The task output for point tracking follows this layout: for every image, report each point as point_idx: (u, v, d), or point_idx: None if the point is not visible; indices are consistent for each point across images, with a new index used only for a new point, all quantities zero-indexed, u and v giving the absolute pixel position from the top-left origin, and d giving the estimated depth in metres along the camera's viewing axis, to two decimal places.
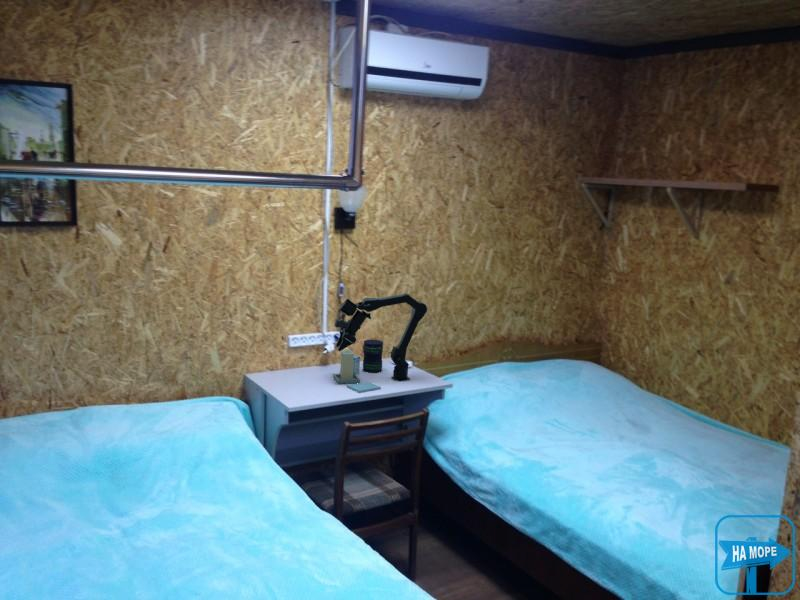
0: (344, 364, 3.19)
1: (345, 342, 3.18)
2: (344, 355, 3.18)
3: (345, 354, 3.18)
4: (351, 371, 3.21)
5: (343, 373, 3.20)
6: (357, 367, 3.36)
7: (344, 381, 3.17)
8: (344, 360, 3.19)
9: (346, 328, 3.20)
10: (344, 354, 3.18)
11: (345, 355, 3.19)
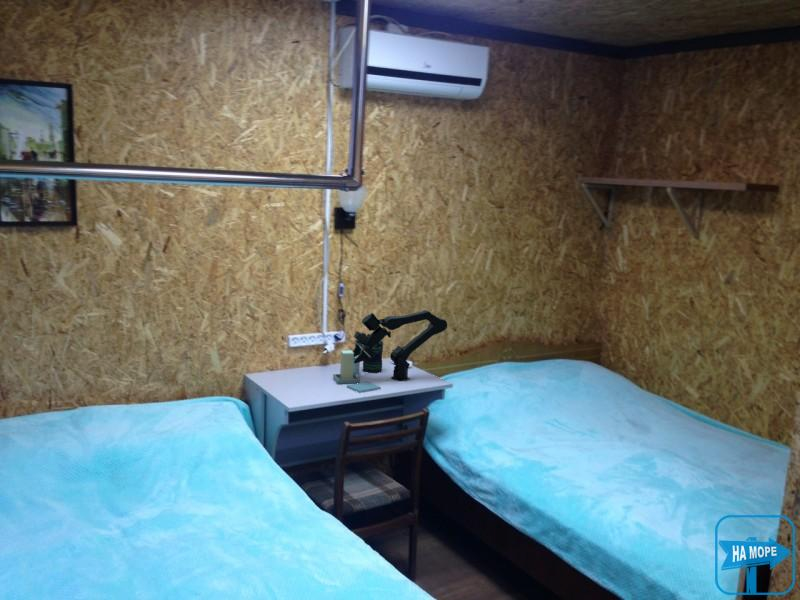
0: (344, 364, 3.19)
1: (363, 355, 3.18)
2: (344, 355, 3.18)
3: (345, 354, 3.18)
4: (351, 371, 3.21)
5: (343, 373, 3.20)
6: (357, 367, 3.36)
7: (344, 381, 3.17)
8: (344, 360, 3.19)
9: (366, 342, 3.20)
10: (344, 354, 3.18)
11: (345, 355, 3.19)
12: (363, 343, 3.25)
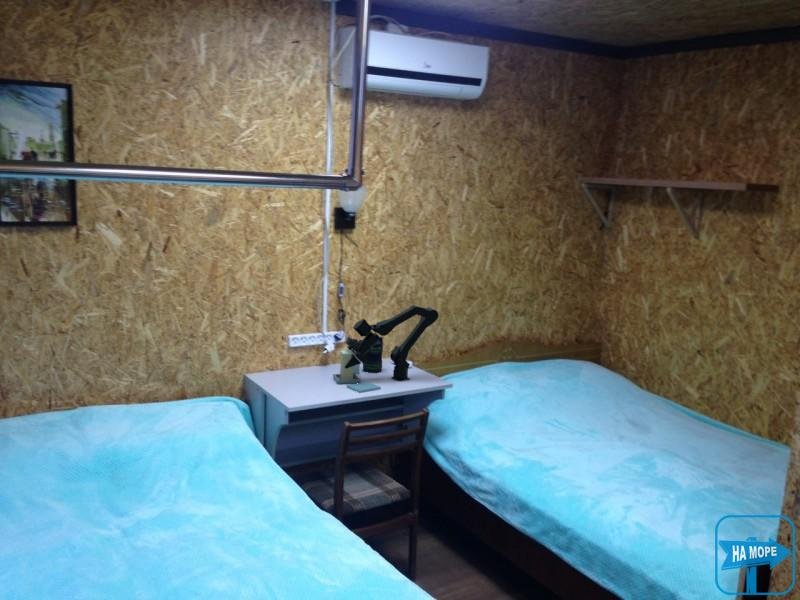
0: (344, 364, 3.19)
1: (353, 360, 3.19)
2: (344, 355, 3.18)
3: (345, 354, 3.18)
4: (351, 371, 3.21)
5: (343, 373, 3.20)
6: (357, 367, 3.36)
7: (344, 381, 3.17)
8: (344, 360, 3.19)
9: (357, 348, 3.19)
10: (344, 354, 3.18)
11: (345, 355, 3.18)
12: (355, 349, 3.24)
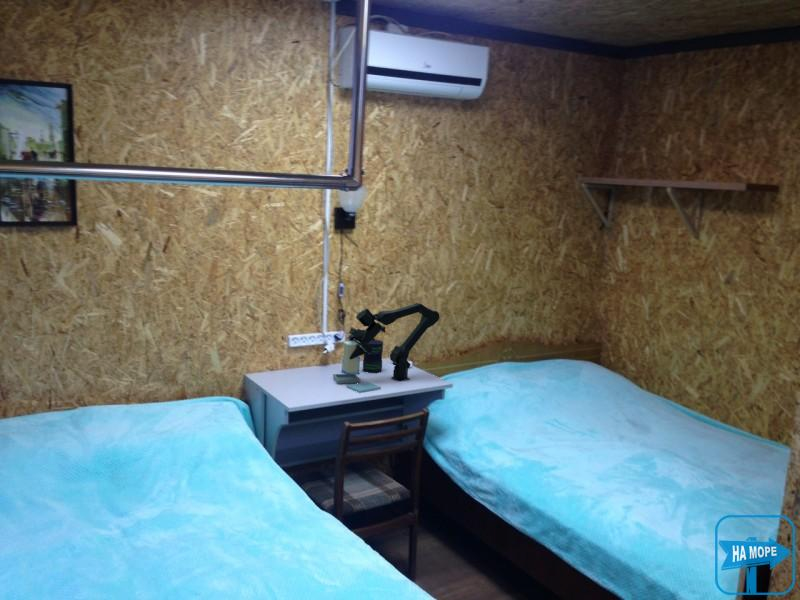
0: (348, 355, 3.15)
1: (358, 351, 3.15)
2: (348, 346, 3.14)
3: (349, 345, 3.14)
4: (355, 362, 3.17)
5: (348, 364, 3.15)
6: (357, 367, 3.36)
7: (344, 381, 3.17)
8: (348, 351, 3.14)
9: (362, 338, 3.16)
10: (348, 345, 3.14)
11: (349, 346, 3.14)
12: (358, 339, 3.20)
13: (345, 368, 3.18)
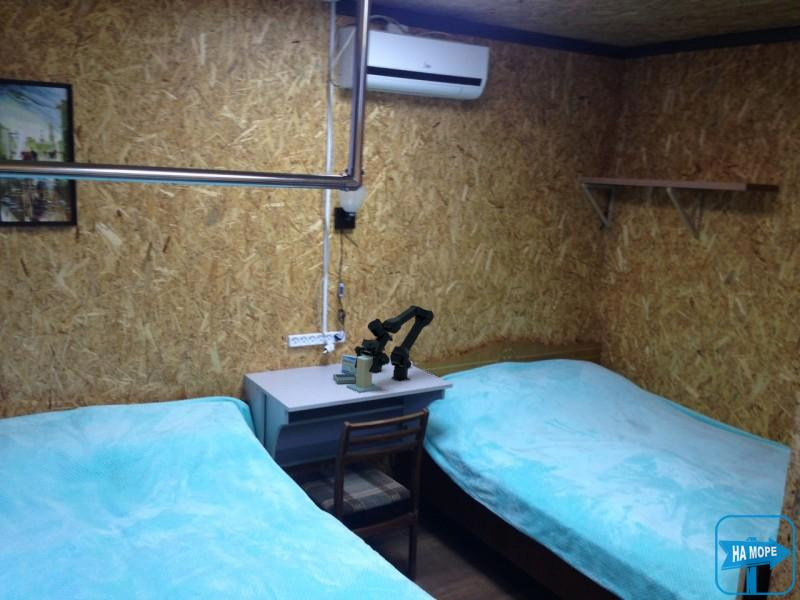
0: (365, 370, 3.08)
1: (377, 363, 3.09)
2: (365, 361, 3.08)
3: (366, 360, 3.08)
4: (370, 376, 3.11)
5: (364, 380, 3.09)
6: None
7: (344, 381, 3.17)
8: (365, 366, 3.08)
9: (376, 349, 3.11)
10: (365, 360, 3.07)
11: (366, 361, 3.08)
12: (368, 350, 3.14)
13: (360, 384, 3.10)
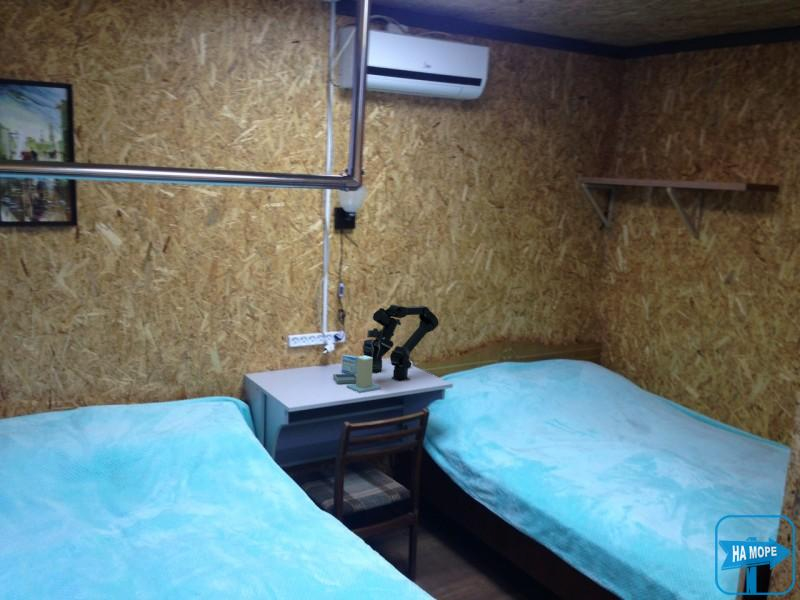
0: (365, 370, 3.08)
1: (382, 349, 3.13)
2: (365, 361, 3.08)
3: (366, 360, 3.08)
4: (370, 376, 3.11)
5: (364, 380, 3.09)
6: None
7: (344, 381, 3.17)
8: (365, 366, 3.08)
9: (380, 336, 3.16)
10: (365, 360, 3.07)
11: (366, 361, 3.08)
12: (379, 340, 3.21)
13: (360, 384, 3.10)
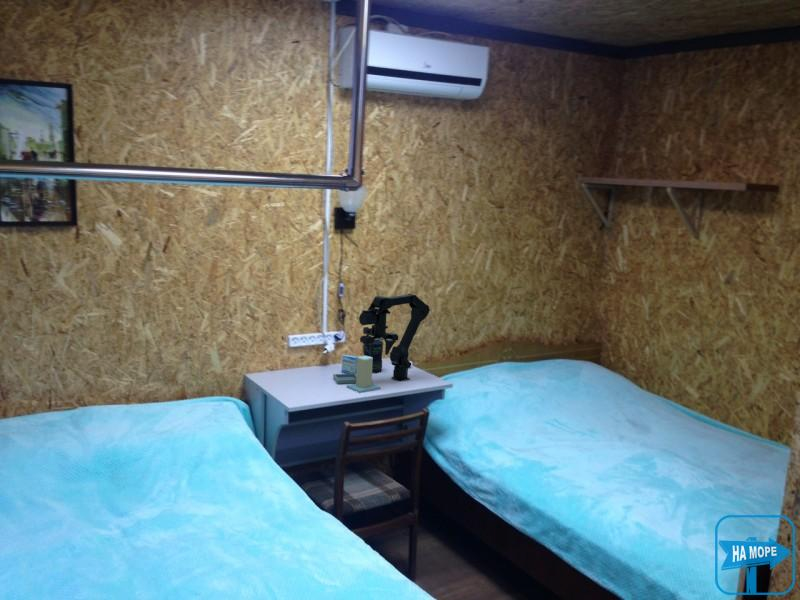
0: (365, 370, 3.08)
1: (369, 346, 3.16)
2: (365, 361, 3.08)
3: (366, 360, 3.08)
4: (370, 376, 3.11)
5: (364, 380, 3.09)
6: None
7: (344, 381, 3.17)
8: (365, 366, 3.08)
9: (371, 333, 3.19)
10: (365, 360, 3.07)
11: (366, 361, 3.08)
12: None
13: (360, 384, 3.10)
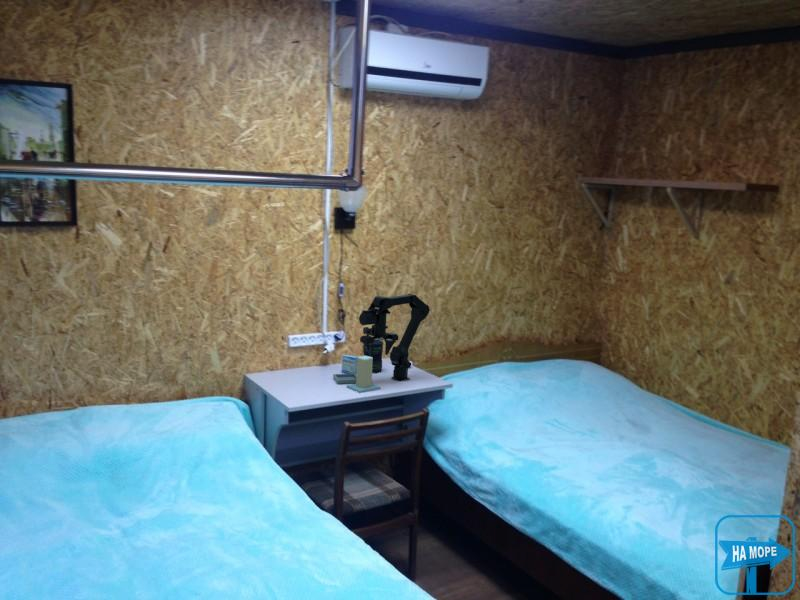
0: (365, 370, 3.08)
1: (369, 346, 3.16)
2: (365, 361, 3.08)
3: (366, 360, 3.08)
4: (370, 376, 3.11)
5: (364, 380, 3.09)
6: None
7: (344, 381, 3.17)
8: (365, 366, 3.08)
9: (371, 333, 3.19)
10: (365, 360, 3.07)
11: (366, 361, 3.08)
12: None
13: (360, 384, 3.10)
